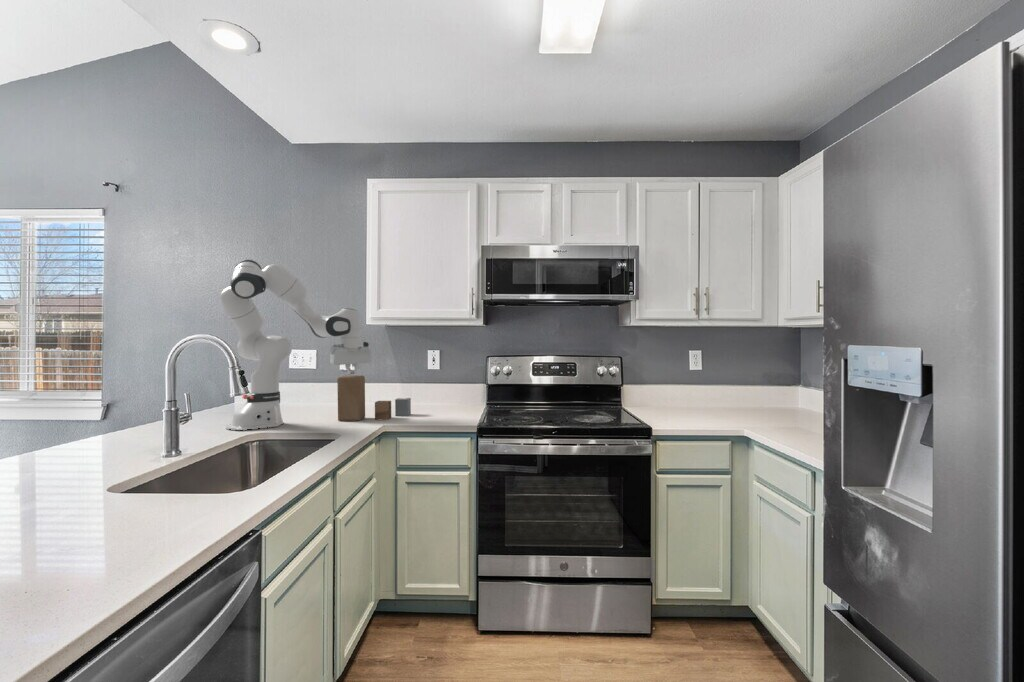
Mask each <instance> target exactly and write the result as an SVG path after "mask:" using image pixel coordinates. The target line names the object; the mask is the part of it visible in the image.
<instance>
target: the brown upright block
mask: <svg viewBox="0 0 1024 682" xmlns="http://www.w3.org/2000/svg"><path fill="white" fill-rule="evenodd" d="M391 418H392V400H376V401H374V420H375V421H378V420H377V419H382V421H384V420H385V421H386V420H390V419H391Z"/></svg>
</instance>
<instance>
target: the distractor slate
mask: <svg viewBox="0 0 1024 682" xmlns="http://www.w3.org/2000/svg"><path fill="white" fill-rule="evenodd" d="M394 402H395V405H394V408H395V409H394V411H395V412H394V413H395V415H394V416H395V417H409V416H410V415H412V410H411V409H412V405H411V397H398V398H395V399H394Z"/></svg>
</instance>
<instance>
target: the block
mask: <svg viewBox="0 0 1024 682" xmlns="http://www.w3.org/2000/svg"><path fill="white" fill-rule="evenodd" d="M336 382H337V420H338V421H339V422H359V421H360V420H362V419H364V418H366V377H365V375H363V374H361V375H359V374H358V375H356V374H348V375H342V376H338V377H337V381H336Z"/></svg>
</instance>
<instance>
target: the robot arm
mask: <svg viewBox="0 0 1024 682" xmlns="http://www.w3.org/2000/svg"><path fill="white" fill-rule="evenodd" d="M266 290H268V291H270V292H271V293H273V294H274V295H275V296H276V297H277V298H278V299H280V300H281V301H282V302H283V303H285V304H286V305H288V307H290V309H292V310H293V311H294V312H295V314H296V315H298V316H299V317H300V318H301V319H302V320H303V321H304V322H305V323H306V324H307V326H309V329H310V330H311V332H312V333H313V335H314V336H315V337H318V338H321V339H325V338H337V337H340V344H333V345H332V346H331V347H330V355H329V357H330V359H329V363H330V364H331V366H341V365H342V366H344V367H345V369H346V371H347V374H348V375H356V369H357V368H358V364H370V363H372V350H371V348H370V347H371V343H370V342H368V341H365V340H362V338H361V337H362V336H361V316H360V313H359V311H358V310H357V309H354V308H345V307H343V308H342V309H341V310H339V311H338V312H336V313H334V314H332V315H322V314H320V313H318V312H317V311H316V310H315V309H314V308H313V307H312V306H311V305H310V304H309V303H308V302H307V296H308V289H307V287H306V286H305V284H304V283H303V282H302V281H301V280H300V279H299V278H297V277H296V276H295V275H294V274H293V273H291V272H290V271H289V270H287V269H286V268H284V267H283V266H281V265H279V264H277V263H272V264H268V265H267V266H265V267H264V268H262V267H261V265H260V263H258V262H257V261H255V260H254V259H253V260H252V259H242V260H241V261H239V262H238V263H237V264H236V265H235V266H234V269H233V271H232V274H231V279H230V286H227V287H226V288H224V289H223V290H222V291H221V293H220V295H219V298H220V301H221V304H222V307H223V309H224V311H225V313H226V315H227V316H228V318H229V320H230V321H231V323H232V325H233V326H234V328H235V330H236V333H237V334H238V338H239V341H238V342H237V345H236V351H237V353H238V355H239V356H240V357H241V358H243V359H246V360H249V361H259V363H258V367H256V370H255V371H252V373H251V375H250V393H249V394H246V395H243V394H242V396H241V398H242V399H243V400H246V402H245V403H244V404H243V405H242V406H241V407H239V408H238V409H237V410H235V411H234V412H233V413H232V418H231V424H227V425H225V429H226V430H229V429H231V430H230V431H235V430H243V431H248V430H247V429H252V430H257V429H258V428H260V429H267V427H268V428H274V427H275V428H276V427H279V426H280V425H282V424H284V420H283V417H282V413H281V392H280V373H281V370H282V366H283V364H284V362H285V361H286V359H288V358H289V357H290V355H291V354H292V350H293V348H292V347H293V346H292V342H291V340H289V338H288V337H287V338H286V337H284V336H280V335H273V334H272V335H265V334H264V333H263V331H262V327H263V325H264V323H265V322H264V321H265V320H264V318H263V316H262V315H261V313H260V312H259V310H258V308H257V306H256V304H255V302H254V301H253V299H252V298H254V297H256V296H258V295H260V294H262V293H265V291H266ZM351 366H352V368H351Z"/></svg>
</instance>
